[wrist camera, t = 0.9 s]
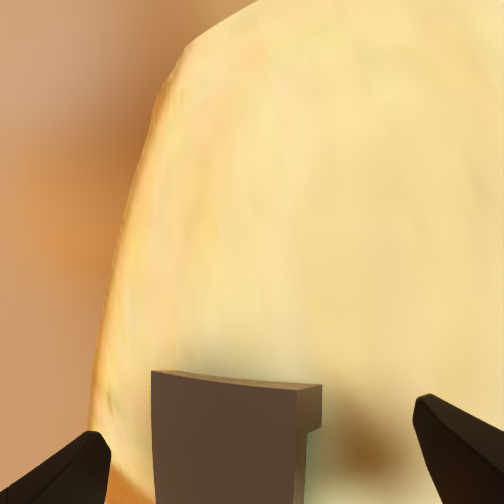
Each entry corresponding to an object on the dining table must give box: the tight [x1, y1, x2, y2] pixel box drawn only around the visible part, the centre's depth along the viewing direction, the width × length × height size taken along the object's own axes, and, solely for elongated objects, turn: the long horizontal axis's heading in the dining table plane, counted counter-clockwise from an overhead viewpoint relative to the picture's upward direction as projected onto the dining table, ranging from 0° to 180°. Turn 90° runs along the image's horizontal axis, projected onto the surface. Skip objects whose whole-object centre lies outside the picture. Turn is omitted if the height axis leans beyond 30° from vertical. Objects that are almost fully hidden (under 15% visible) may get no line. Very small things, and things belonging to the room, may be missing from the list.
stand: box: [151, 371, 322, 504], centre depth 21 cm, size 16×16×3 cm
